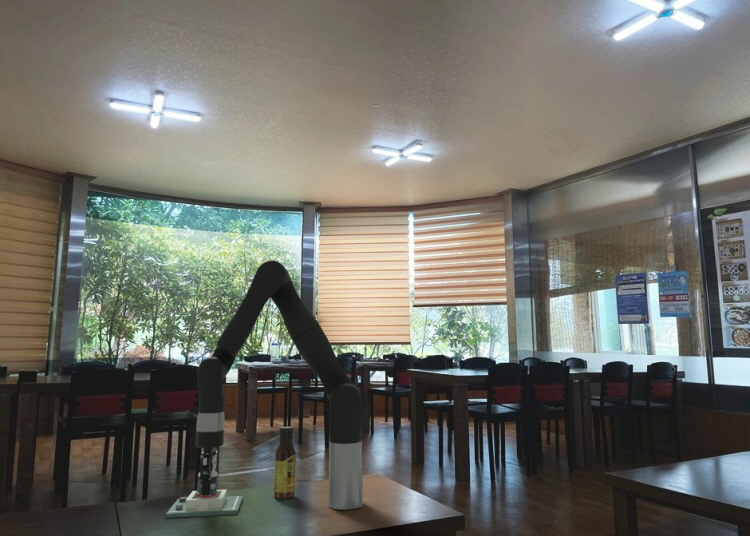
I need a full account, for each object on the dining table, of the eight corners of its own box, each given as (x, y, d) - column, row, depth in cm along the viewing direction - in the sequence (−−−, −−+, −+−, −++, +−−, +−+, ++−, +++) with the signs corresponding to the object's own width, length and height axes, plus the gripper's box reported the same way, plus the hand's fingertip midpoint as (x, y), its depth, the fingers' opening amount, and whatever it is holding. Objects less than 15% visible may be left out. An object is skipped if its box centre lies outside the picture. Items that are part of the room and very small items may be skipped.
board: (242, 499, 147) (243, 486, 148) (237, 514, 134) (237, 500, 134) (178, 502, 145) (178, 489, 145) (165, 517, 131) (166, 503, 132)
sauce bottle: (290, 500, 146) (291, 429, 150) (270, 499, 148) (272, 428, 151) (298, 494, 153) (299, 426, 156) (278, 493, 154) (280, 425, 157)
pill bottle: (197, 501, 136) (199, 466, 138) (195, 496, 141) (197, 462, 142) (218, 498, 138) (219, 464, 140) (215, 494, 143) (216, 461, 145)
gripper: (220, 432, 136) (217, 498, 134) (227, 424, 150) (224, 485, 148) (191, 432, 135) (187, 500, 132) (201, 425, 149) (198, 486, 146)
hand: (207, 491), depth 140 cm, fingers closed on pill bottle, 5 cm apart
